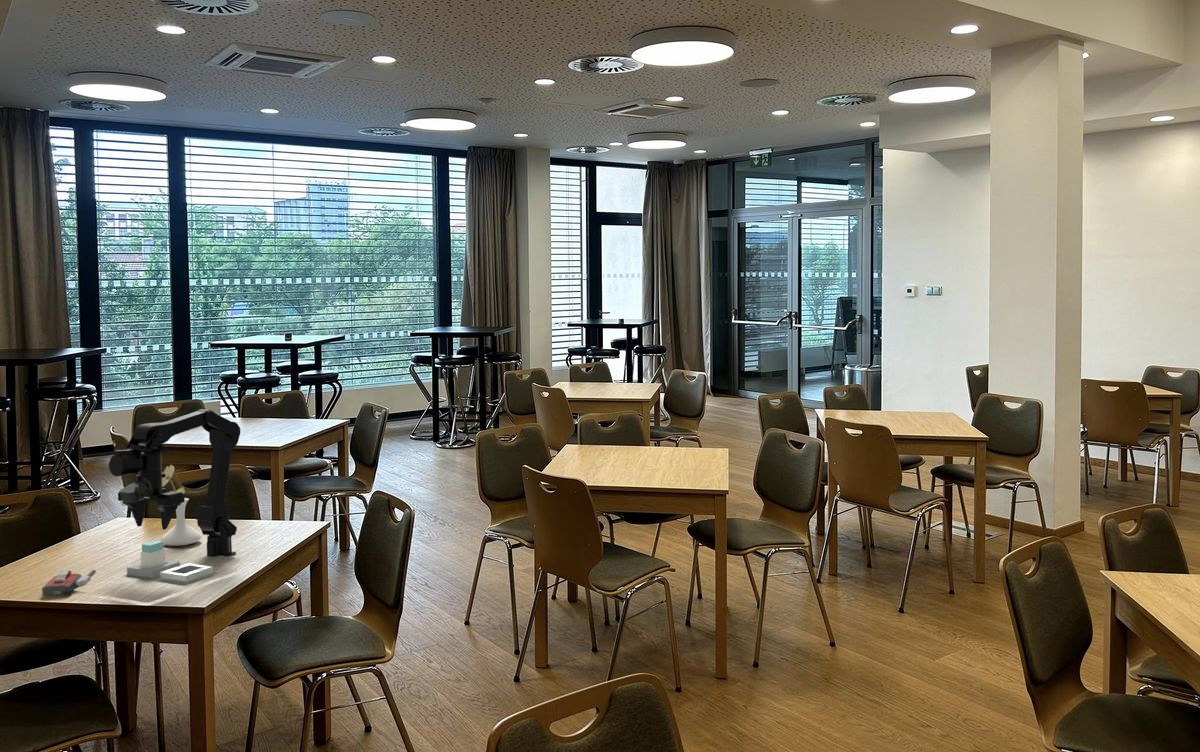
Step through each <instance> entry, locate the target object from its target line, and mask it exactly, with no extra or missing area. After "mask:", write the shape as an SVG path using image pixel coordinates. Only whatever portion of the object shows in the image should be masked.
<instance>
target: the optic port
mask: <svg viewBox="0 0 1200 752" xmlns="http://www.w3.org/2000/svg"><path fill="white" fill-rule="evenodd" d="M213 572H214V566H211V565H203V564H196V563H190V562H188V563H185V564H182V565H180V566H178V567H175V568H172V569H168V570H165V571H162V572H160V580H166V581H173V582H179V583H188V584H190V583H189V582H191V583H193V582H192V581H194V580H197V579H200V578H203V577H206V576H208V577H210V576H209V575H211V576H213V575H212V574H213ZM206 578H207V577H206ZM203 579H204V578H203ZM200 580H201V579H200ZM197 581H198V580H197ZM194 582H195V581H194Z"/></svg>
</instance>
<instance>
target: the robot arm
mask: <svg viewBox="0 0 1200 752" xmlns="http://www.w3.org/2000/svg"><path fill="white" fill-rule="evenodd" d="M201 427H202V429H203V430H204V431H206V432H207V433H208V434H209V438H208V440H209V443H210V446H211V448H212V459H211V466H210V472H209V481H208V487H207V488H208V490H207V495H206V500H205V502H204V503H203V505H198V506H197V513H196V517H195V520H196V522H197V523H196V524H197V526H198V527H199V529H200V530H201V533H202V535H205V536H207V537H206V541H207V542H206V556H207V557H213V558H214V557H218V556H221V557H231V556H233V555H237V552H236V551H232V550H233V549H232V537H233V536H235V535H236V533H237V531H238V527H237V526H236V525H235V524H233V522H231V521H230V518H229V517H230V512H229V507H228V506H227V503H226V495H227V488H228V481H229V480H228V479H229V472H230V465H231V464H230V463H231V457H232V452H233V450H234V449H235V448H236V446H237V445H238V443H239V440H240V435H241V427H240V426H239V424H238V423H237V422H236V421H232V420H231V421H230V420H229V419H227V418H225V417H223V416H221V415H219V414H217V413H216V412H214V411H213V410H211V409H197V410H196V411H194V412H191V413H189V414H185V415H182V416H179V417H175V418H173V419H168V420H166V421H162V422H149V423H142V424H138V425H137V426H136V427H135V429H134V431H133V434H132V435H131V438H130V439H129V440H128V442H127V444H126V446H125V448H124V449H121V450H120V449H115V450H113V455H112V456H111V457H110V459H109V462H108V468H109V471H110V473H111V475H112V476H114V477H123V476H128V475H134V474H136V475H135V476H134V478H133V479H134V482H132V483H130V484H128V485H127V486H125V487H123V488H121V489H120V490H119V492H118V493H117V501H121V504H123V505H125V506H126V507H128V508H129V511H130V512H131V514H132V517H133V519H134V521H135V523H136V526H137V527H142V526H143V521H144V517H145V509H146V503H147V500H148V501H149V500H150V501H156V503H157V504H158V505H156V508H157V509H158V510H159V512H160V520H161V527H162V530H163V531H164V530H167V529H168V528H169V525H170V522H171V520H172V518H173V516H174V514H175V513H176V509H177V507H178V506H179V505H181V503H183V502H184V498H185V493H184V494H183V493H182V492H175V491H174V490H171V491H169V492H167V488H165V487H162V478H164V477H166V476H165V473H164V472H163V470H162V469H163V467H162V464H163V463H162V454H166V453H169V449H168V448H167V447H165V446H164V445H163V444H165V443H168V441H169V440H170V439H171V438H172V437H174V436H176V435H179V434H182V433H185V432H187V431H190V430H193V429H197V428H201ZM137 474H138V475H137Z"/></svg>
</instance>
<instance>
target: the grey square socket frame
mask: <svg viewBox="0 0 1200 752" xmlns="http://www.w3.org/2000/svg"><path fill="white" fill-rule="evenodd" d="M180 564H181V562H180V561H175V560H167V559H166V564H164V565H161V566H158V567H155V568H151V569H149V568H142V567H141V562H140V563H137V564H134V565H133V564H132V565H130V566H126V574H127V575H133V576H139V577H146V578H155V577H158V576H160V572H162V571H165V570H168V569H172V568H175V567H178V566H181V565H180Z"/></svg>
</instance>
